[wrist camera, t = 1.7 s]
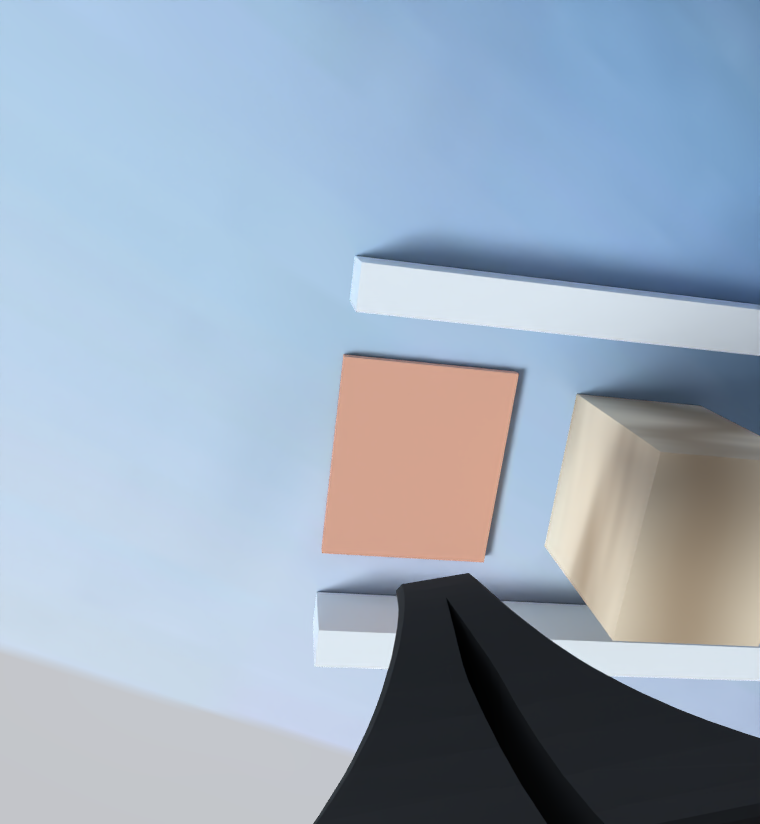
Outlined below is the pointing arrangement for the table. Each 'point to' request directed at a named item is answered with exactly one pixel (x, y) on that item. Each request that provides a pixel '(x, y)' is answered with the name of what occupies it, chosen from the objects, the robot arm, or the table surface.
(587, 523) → the pale gold metal block
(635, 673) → the trap channel
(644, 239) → the table surface
